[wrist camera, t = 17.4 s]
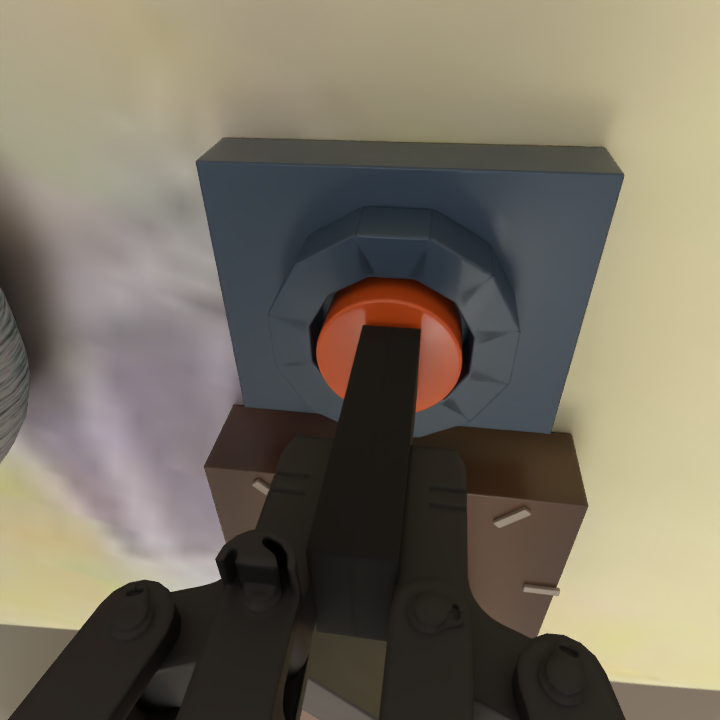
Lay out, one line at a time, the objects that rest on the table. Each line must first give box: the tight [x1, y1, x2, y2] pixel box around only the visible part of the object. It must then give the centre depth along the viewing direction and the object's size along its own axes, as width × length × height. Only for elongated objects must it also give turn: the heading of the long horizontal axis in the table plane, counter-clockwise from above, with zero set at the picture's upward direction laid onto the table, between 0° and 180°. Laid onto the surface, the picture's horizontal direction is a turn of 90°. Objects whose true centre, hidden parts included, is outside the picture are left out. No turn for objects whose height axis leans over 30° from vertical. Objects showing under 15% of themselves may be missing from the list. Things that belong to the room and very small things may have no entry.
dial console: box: [204, 405, 588, 638], centre depth 24 cm, size 14×14×4 cm
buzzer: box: [196, 138, 624, 438], centre depth 17 cm, size 11×9×4 cm
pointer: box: [302, 623, 387, 720], centre depth 20 cm, size 10×2×6 cm, turn 40°
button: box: [316, 277, 462, 413], centre depth 15 cm, size 4×4×2 cm
